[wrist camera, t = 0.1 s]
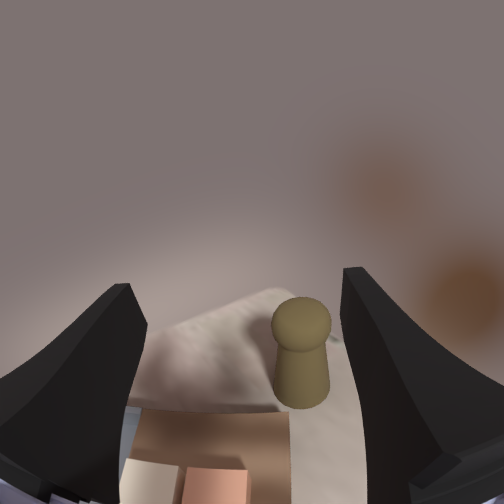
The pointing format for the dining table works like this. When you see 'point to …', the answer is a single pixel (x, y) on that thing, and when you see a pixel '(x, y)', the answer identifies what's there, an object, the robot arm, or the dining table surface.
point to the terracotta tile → (216, 486)
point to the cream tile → (151, 483)
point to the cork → (301, 352)
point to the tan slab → (221, 446)
